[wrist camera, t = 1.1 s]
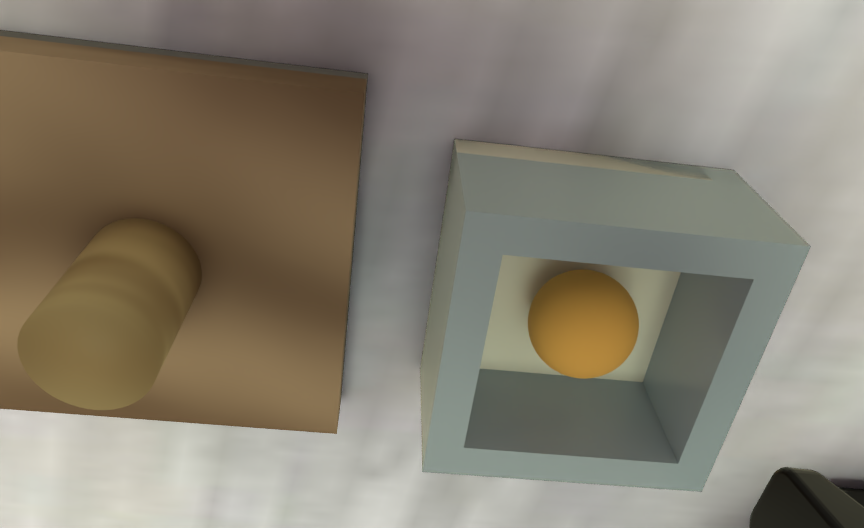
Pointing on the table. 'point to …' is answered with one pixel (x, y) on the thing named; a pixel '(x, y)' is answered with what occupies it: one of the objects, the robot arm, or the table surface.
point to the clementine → (583, 323)
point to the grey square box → (646, 284)
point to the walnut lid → (175, 236)
